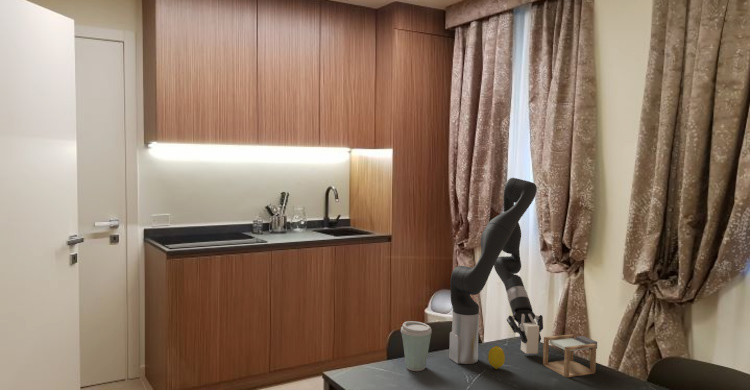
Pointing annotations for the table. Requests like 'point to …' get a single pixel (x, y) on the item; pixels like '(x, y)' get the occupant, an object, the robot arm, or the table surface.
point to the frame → (569, 359)
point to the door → (573, 342)
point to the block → (530, 338)
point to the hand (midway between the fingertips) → (532, 341)
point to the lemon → (496, 357)
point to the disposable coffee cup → (416, 344)
